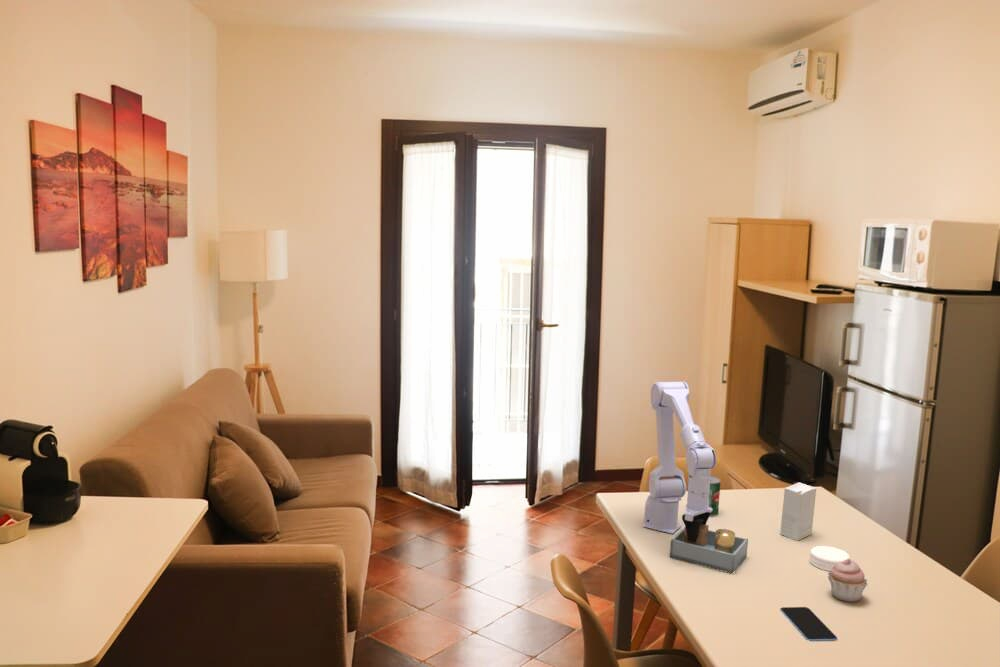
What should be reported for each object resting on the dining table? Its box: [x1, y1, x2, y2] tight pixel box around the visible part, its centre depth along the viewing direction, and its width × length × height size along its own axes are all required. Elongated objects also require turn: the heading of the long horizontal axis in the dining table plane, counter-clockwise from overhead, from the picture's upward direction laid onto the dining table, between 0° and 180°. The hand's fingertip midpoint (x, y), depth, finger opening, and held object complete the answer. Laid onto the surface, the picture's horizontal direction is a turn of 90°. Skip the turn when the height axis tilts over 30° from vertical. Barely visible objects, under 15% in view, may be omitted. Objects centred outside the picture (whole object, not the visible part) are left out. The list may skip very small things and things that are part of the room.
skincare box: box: [780, 481, 817, 542], centre depth 235 cm, size 8×6×15 cm
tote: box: [669, 526, 749, 574], centre depth 219 cm, size 17×13×5 cm
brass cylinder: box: [714, 528, 736, 554], centre depth 216 cm, size 5×5×7 cm
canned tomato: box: [709, 475, 722, 517], centre depth 252 cm, size 8×8×11 cm
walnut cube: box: [684, 524, 709, 547], centre depth 220 cm, size 5×5×5 cm
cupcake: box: [827, 558, 869, 603], centre depth 197 cm, size 9×9×10 cm
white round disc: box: [809, 545, 851, 572], centre depth 217 cm, size 10×10×4 cm
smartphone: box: [779, 606, 838, 642], centre depth 184 cm, size 7×1×15 cm
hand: (695, 538), depth 220 cm, fingers closed on walnut cube, 5 cm apart
